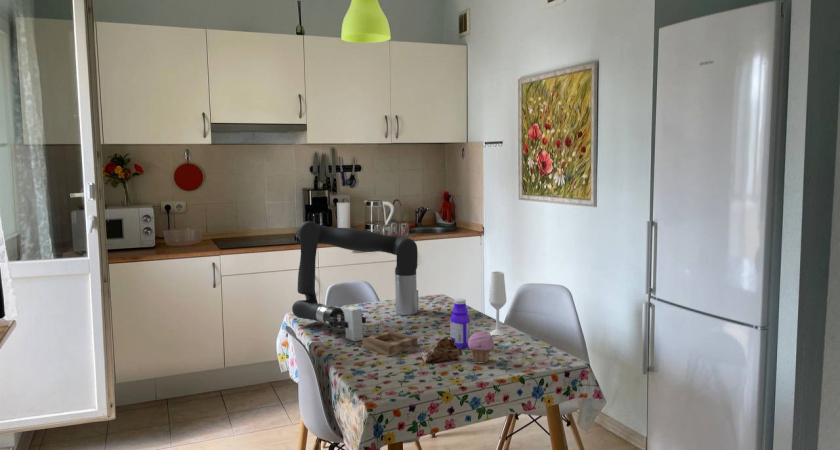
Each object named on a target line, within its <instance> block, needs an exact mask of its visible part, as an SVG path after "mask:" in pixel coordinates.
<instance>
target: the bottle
mask: <svg viewBox="0 0 840 450" xmlns="http://www.w3.org/2000/svg"><path fill="white" fill-rule="evenodd" d="M466 301H467V300H466V299H465V298H463V297H458V298H454V305H453V309H452V311H451V312H452V315H451V317H450V323H449V324H450V327H449V328H450V332H449V333H450V334H449V335H450V336H449V338H450V339H452V340H454V342H455V345H456V347H455V348H459V349H465V348H469V346H468V340H469V338H470V337H471V330H470V329H471V319H470V317H469V315H468V313H469V310H468V308H467V303H466ZM450 339H449V340H450Z"/></svg>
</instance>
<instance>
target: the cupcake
mask: <svg viewBox="0 0 840 450" xmlns="http://www.w3.org/2000/svg"><path fill="white" fill-rule="evenodd" d="M493 338H494V337H493V336H492V335H490V334H489V333H485V332H481V331H479V332H473V333H472V334H471V335H470V338H469V340H468V348H469V349H470V351H471V355H472V359H473V360H472V361H473V362H474V363H475V362H476V363H475V364H479V363H478V362H486V363H487V362H488V361H489V359H490V353H491V350H492V349H493V348H494V345H495V344H494V339H493Z"/></svg>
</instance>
